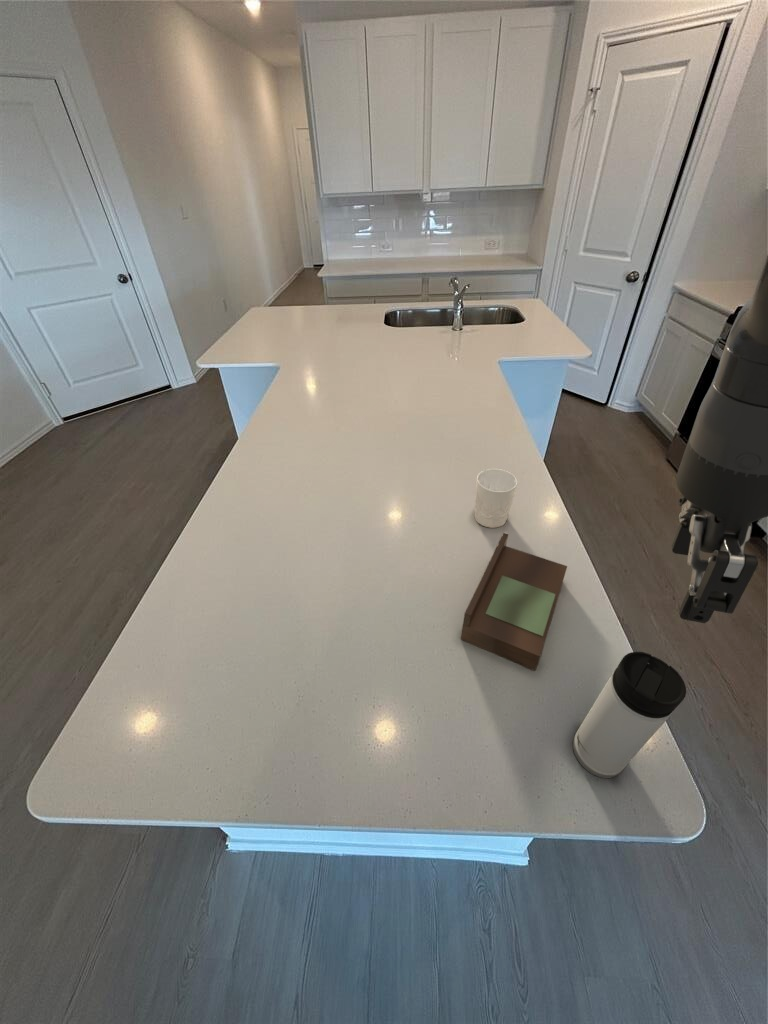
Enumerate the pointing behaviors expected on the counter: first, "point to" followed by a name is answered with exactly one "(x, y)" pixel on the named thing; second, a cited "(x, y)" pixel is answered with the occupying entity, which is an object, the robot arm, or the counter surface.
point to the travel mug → (627, 713)
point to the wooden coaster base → (514, 605)
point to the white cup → (494, 496)
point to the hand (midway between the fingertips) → (687, 582)
